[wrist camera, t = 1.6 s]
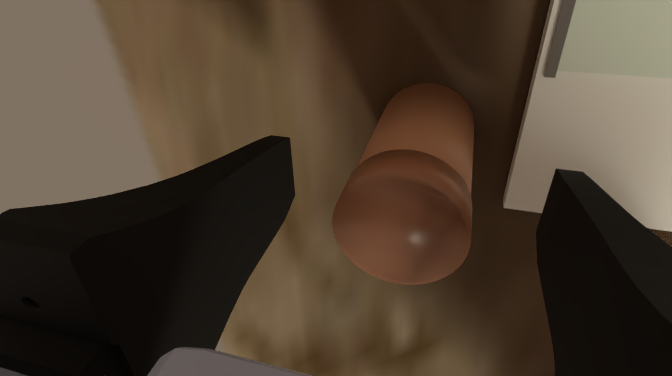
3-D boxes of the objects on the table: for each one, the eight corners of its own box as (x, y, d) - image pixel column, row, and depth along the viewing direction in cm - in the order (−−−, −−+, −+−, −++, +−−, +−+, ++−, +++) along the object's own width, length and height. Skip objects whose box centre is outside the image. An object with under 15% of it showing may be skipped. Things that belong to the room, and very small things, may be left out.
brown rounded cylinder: (468, 173, 15) (460, 296, 11) (378, 162, 16) (334, 271, 12) (483, 85, 14) (482, 186, 9) (381, 77, 14) (330, 166, 10)
